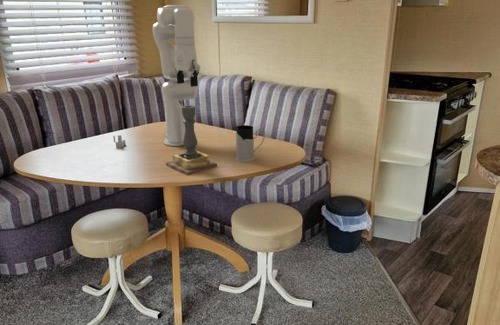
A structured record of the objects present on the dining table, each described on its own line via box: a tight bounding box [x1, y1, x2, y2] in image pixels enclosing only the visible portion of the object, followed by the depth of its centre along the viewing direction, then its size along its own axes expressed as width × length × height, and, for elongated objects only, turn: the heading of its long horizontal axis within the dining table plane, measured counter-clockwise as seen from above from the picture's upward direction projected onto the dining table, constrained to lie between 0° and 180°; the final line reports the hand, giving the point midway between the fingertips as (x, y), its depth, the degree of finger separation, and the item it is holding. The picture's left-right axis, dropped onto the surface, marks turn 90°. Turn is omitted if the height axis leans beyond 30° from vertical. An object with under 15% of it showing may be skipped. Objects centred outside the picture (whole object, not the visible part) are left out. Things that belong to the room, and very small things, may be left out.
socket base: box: [165, 150, 218, 176], centre depth 182 cm, size 16×16×5 cm
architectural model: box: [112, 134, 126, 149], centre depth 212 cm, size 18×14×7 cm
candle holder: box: [182, 105, 198, 160], centre depth 179 cm, size 6×6×25 cm
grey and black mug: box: [235, 124, 266, 163], centre depth 190 cm, size 9×14×15 cm, turn 111°
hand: (187, 84), depth 171 cm, fingers open, 9 cm apart
